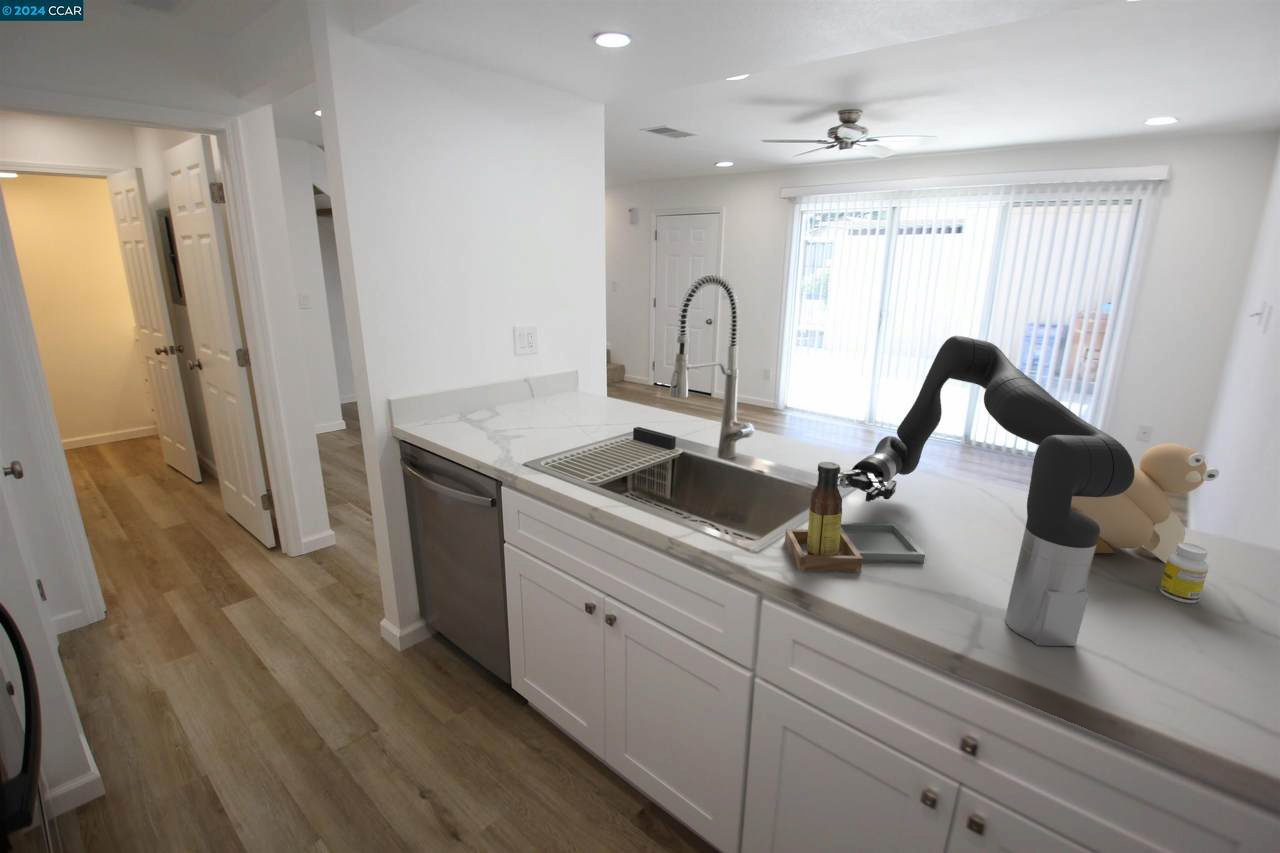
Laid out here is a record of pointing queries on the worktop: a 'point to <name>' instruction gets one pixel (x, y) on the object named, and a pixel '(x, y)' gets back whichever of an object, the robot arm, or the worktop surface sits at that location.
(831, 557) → the wooden frame
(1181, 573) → the supplement bottle
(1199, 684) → the worktop surface
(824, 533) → the sauce bottle
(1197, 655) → the worktop surface
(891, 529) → the tray
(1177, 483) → the chick figurine
